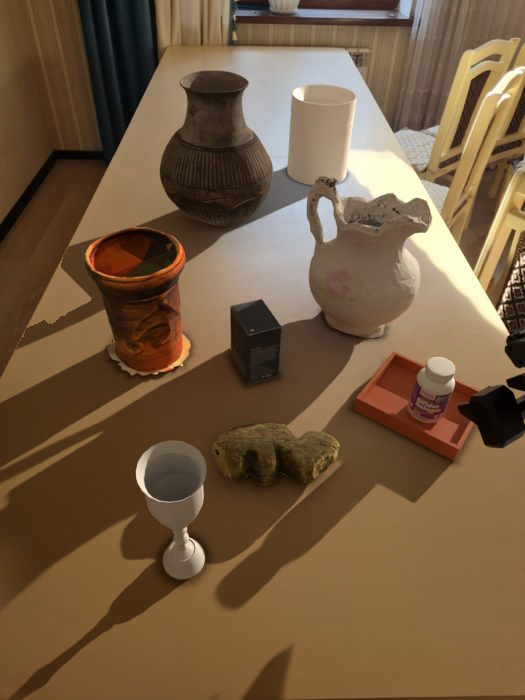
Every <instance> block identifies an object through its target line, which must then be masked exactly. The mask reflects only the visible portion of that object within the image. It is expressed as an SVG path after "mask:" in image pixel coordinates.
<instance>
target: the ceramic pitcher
mask: <svg viewBox="0 0 525 700" xmlns="http://www.w3.org/2000/svg"><path fill="white" fill-rule="evenodd" d="M336 183H337V184H339V183H338V179H335V178H333V179H331V178H328V177H325V176H324V177H323V176H322V177H321V176H320V177H319V178H318V179H317V180H315V184H314V185H311V188H310V189H309V191H308V193H307V199H306V219H307V221H308V224H309V231H310V233H311V234H312V236H313V238H314V240H315V245H314V251H313V255H312V257H311V259H310V264H309V268H308V270H309V271H308V285H309V290H310V293H311V295H312V297H313V298H314V301H315V302H316V304H317V305H318V306H319V308H321V309H322V311H323V315H324V318H325V321H326V322H327V324H328V326H329V327H331V328H332V329H334V330H338V331H340V332H342V333H345V334H350V335H352V336H356V337H361V338H364V339H373V338H381V337H382V336H383V335H384V334H385V328H386V325H387V324H389V323H391V322H393V321H394V320H396V319H398V318H399V317H401V316H402V315H403V314H404V313H405V312H406V311H407V310H408V309H409V308H410V307H411V305H412V304H413V302H414V301H415V299H416V297H417V294H418V291H419V287H420V284H421V269H420V265H419V263H418V260H417V258H415V257H414V255H413V254H412V253H411V252H410V251H409V250H408V249H407V248H406V247H405V245H406V241H407V239H408V238H410V237H412V236H413V235H415V234H426V233H427V232H428V231H429V229H430V227H431V226H432V221H433V214H432V211H431V207H430V206H429V204H428V200H426V199H424V198H421V197H414V198H412V199H411V200H408V201H407V202H405V201H403V200H402V199H400V198H399V197H398V196H397V195H396V194H395V193H394V192H387V193H385V194H382V195H379V196H377V197H375V198H373V199H371V200H368V199H366V198H364V197H361V196H346V197H345V196H342V195H341V194H340V193H339V190H338V189H337V184H336ZM323 197H324V198H325V199H327V200H329V201H330V202H331V204H332V207H333V217H334V221H335V225H336V237H334V238H332V239H330V240H326V239H325V235H324V227H323V224H322V222H321V219H320V217H319V213H318V209H319V202H320V199H321V198H323Z"/></svg>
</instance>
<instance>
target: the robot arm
mask: <svg viewBox="0 0 525 700" xmlns="http://www.w3.org/2000/svg"><path fill="white" fill-rule="evenodd" d="M504 353H505V354H506V356H507V358H508V359H509V360H510V361H511V363H512V364H513V366H514V367H515V368H517V369H523V368H524V369H525V324H524V325H523V326H521V327H520V328H519V329H517V330H516V331H514V332H512V333H511V334H509V335H507V337H506V339H505V346H504ZM505 382H506V385H507V386H506V385H505V384H495V385H488V386H486V387H484V388H483V389H480V390H481V391H479V392H477V393H475V394H474V395H472V396H471V397H470V401H469V402H466V403H462V404H459V405H458V406H457V407H458V410H459V413H460V414H462V415H463V416H464V417H466V418H467V419H469V420H470V421H472V422H473V423H475V424H474V425H476V427H477V428H478V431H479V434H480V436H481V439H482V442H483V445H484V446H486V447H487V448H490V449H504V448H506V447H508V446H510V445H511V444H513V443H515V442H516V441H518V440H519V439H522V437H524V435H525V394H522V395H521V396H519V397H517V398H516V396H515V395H516V394H515V393H514V391H513V390H516V391H520V392H524V393H525V372H522V373H520V374H519V373H518V374H517V375H514V376H511V377H508V378H506V379H505ZM511 389H512V390H511Z"/></svg>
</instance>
